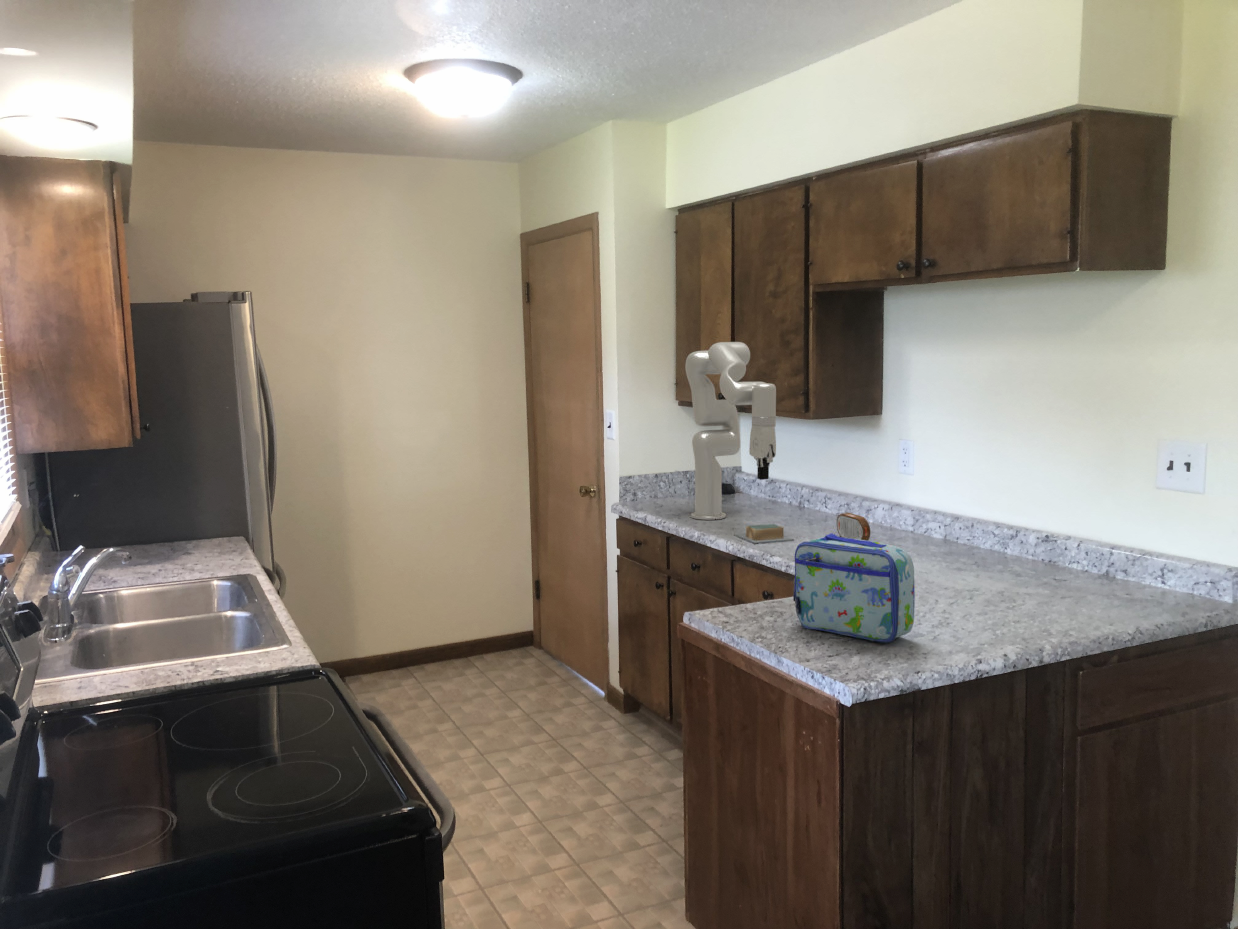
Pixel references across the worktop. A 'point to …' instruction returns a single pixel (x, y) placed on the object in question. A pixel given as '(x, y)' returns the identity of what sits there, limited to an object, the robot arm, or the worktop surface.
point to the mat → (785, 538)
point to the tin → (853, 526)
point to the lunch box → (854, 588)
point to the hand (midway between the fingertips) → (763, 478)
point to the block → (764, 532)
